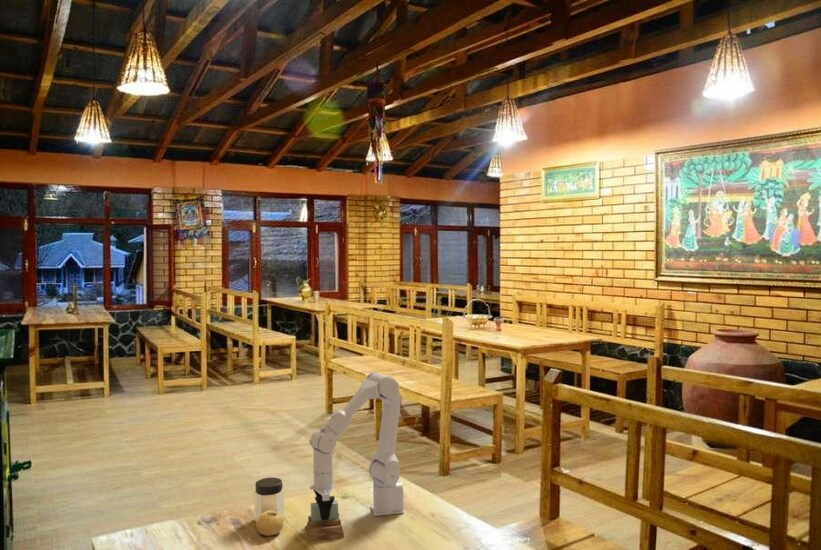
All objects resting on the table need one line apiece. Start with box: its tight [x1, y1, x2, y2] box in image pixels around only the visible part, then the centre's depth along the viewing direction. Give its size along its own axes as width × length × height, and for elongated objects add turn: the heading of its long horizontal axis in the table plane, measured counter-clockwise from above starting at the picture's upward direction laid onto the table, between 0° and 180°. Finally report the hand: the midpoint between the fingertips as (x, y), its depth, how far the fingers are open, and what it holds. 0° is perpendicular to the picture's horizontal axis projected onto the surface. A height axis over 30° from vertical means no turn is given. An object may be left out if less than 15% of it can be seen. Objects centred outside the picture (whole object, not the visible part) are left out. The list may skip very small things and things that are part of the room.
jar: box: [253, 477, 285, 522], centre depth 201 cm, size 9×8×12 cm
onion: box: [255, 509, 285, 537], centre depth 192 cm, size 8×8×7 cm
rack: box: [306, 512, 345, 542], centre depth 193 cm, size 10×10×3 cm
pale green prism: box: [310, 500, 339, 522], centre depth 195 cm, size 8×2×6 cm, turn 103°
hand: (324, 515), depth 195 cm, fingers open, 6 cm apart
